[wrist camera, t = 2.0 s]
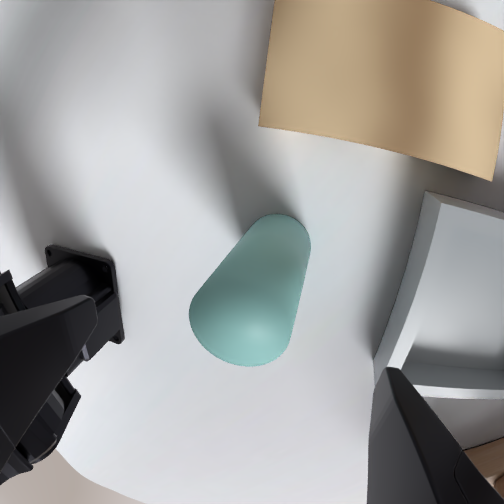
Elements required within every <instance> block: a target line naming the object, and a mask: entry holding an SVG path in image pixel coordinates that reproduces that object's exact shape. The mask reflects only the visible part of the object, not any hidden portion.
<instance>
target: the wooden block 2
mask: <svg viewBox="0 0 504 504" xmlns="http://www.w3.org/2000/svg"><path fill="white" fill-rule="evenodd" d="M464 452H465V453H466V455H467V456H468V457H469V459H470V460H471V461H472V462H473V464H474V465H475V466H476V468H477V469H478V470H479V471H480V473H481V474H482V475H483V476H484V477H485V478H486V480H487V481H488V482H489V483H490V484H491V485H492V486H493V488H494V489H495V490H496V491H497V492H498V493H499V494H500V495H501V496H502V497H503V499H504V438H502V439H499V440H496V441H493V442H490V443H487V444H484V445H481V446H478V447H475V448H472V449H469V450H465V451H464Z"/></svg>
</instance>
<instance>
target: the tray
mask: <svg viewBox="0 0 504 504" xmlns="http://www.w3.org/2000/svg"><path fill="white" fill-rule="evenodd" d="M373 367H374V381H375V386H376V384H377V382H378V380H379V377H380V375H381V373H382V371H383V369H384V368H385V367H395V368H399V369H400V370H401V371H402V372H403V374H404V375H405V376H406V377H407V379H408V380H409V381H410V382H411V384H412V385H413V386H414V387H415V389H416V390H417V391H418V392H419V394H420V395H421V396H425V397H439V398H458V399H504V212H501V211H498V210H495V209H491V208H488V207H485V206H481V205H478V204H474V203H471V202H467V201H463V200H460V199H456V198H452V197H449V196H445V195H441V194H437V193H433V192H429V191H425V194H424V198H423V203H422V208H421V212H420V216H419V221H418V225H417V229H416V233H415V237H414V241H413V244H412V248H411V252H410V255H409V259H408V262H407V266H406V269H405V273H404V276H403V279H402V282H401V286H400V289H399V292H398V295H397V298H396V301H395V304H394V307H393V310H392V313H391V316H390V318H389V321H388V324H387V327H386V329H385V332H384V335H383V337H382V340H381V343H380V345H379V348H378V350H377V353H376V355H375V358H374V360H373Z"/></svg>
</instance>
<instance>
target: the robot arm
mask: <svg viewBox="0 0 504 504" xmlns="http://www.w3.org/2000/svg"><path fill="white" fill-rule="evenodd" d="M45 254H46V260H47V265H48V268H46V269H44V270H43V271H41V272H40V273H38V274H36V275H35V276H33V277H32V278H30V279H28V280H27V281H25V282H24V283H22V284H21V285H19V286H17V287H15V285H14V283H13V281H12V279H13V278H12V275H11V273H10V271H9V270H7V271H5V272H3V273H1V272H0V485H1V484H2V483H4V482H5V481H6V480H8V479H9V478H11V477H14V476H16V475H18V474H20V473H24V472H28V471H31V470H32V469H33V465H32V464H34V463H37V462H39V461H41V460H43V459H44V458H46V457H47V456H48V455H50V454H51V453H52V452H53V450H54V449H55V448H56V447H57V445H58V443H59V441H60V439H61V437H62V435H63V433H64V431H65V429H66V427H67V424H68V422H69V420H70V418H71V416H72V414H73V412H74V410H75V408H76V406H77V404H78V402H79V400H80V398H81V395H80V394H79V392H78V391H77V389H74V387H73V386H72V384H71V383H70V382H69V380H68V379H67V377H68V376H69V375H70V374H71V373H72V372H73V371H74V370H75V368H76V367H77V366H78V365H79V364H80V363H81V362H82V361H83V360H85V361H89V360H90V359H91V358H92V357H93V356H94V355H95V354H96V353H97V352H98V351H99V350H100V349H101V348H102V347H103V346H104V345H105V344H106V343H107V342H108V341H111V342H114V343H116V344H121V343H122V342H123V341H124V339H125V337H124V331H123V325H122V318H121V312H120V304H119V297H118V289H117V280H116V271H115V265H114V264H113V262H112V261H111V260H109V259H105V258H101V257H97V256H93V255H90V254H86V253H82V252H78V251H74V250H70V249H67V248H63V247H59V246H55V245H49V246H47V247H46V248H45ZM106 266H107V267H108V269H107V267H106ZM367 504H504V499H503V497H502V496H501V495H500V494H499V493H498V492H497V491H496V490H495V489H494V488H493V486H492V485H491V484H490V483H489V482H488V481H487V480H486V478H485V477H484V476H483V475H482V474H481V473H480V471H479V470H478V469H477V468H476V466H475V465H474V464H473V462H472V461H471V460H470V459H469V457H468V456H467V455H466V453H465V452H464V451H462V448H461V447H460V445H459V444H458V443H457V441H456V440H455V439H454V437H453V436H452V435H451V433H450V432H449V431H448V430H447V428H446V427H445V426H444V424H443V423H442V422H441V420H440V419H439V418H438V417H437V415H436V414H435V413H434V411H433V410H432V409H431V408H430V406H429V405H428V404H427V402H426V401H425V400H424V399H423V397H422V396H421V395H420V394H419V392H418V391H417V390H416V389H415V387H414V386H413V385H412V384H411V382H410V381H409V380H408V379H407V377H406V376H405V375H404V374H403V372H402V371H401V370H400V369H399V368H395V367H385V368H384V369H383V371H382V373H381V375H380V377H379V380H378V382H377V384H376V386H375V389H374V393H373V403H372V413H371V423H370V432H369V445H368V489H367Z"/></svg>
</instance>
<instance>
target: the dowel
mask: <svg viewBox="0 0 504 504" xmlns="http://www.w3.org/2000/svg"><path fill="white" fill-rule="evenodd" d="M310 250H311V243H310V238H309V235H308V233H307V231H306V229H305V228H304V227H303V225H302V224H301V223H299V222H298V221H297V220H296V219H294V218H292V217H290V216H287V215H283V214H270V215H266V216H264V217H262V218H260V219H258V220H257V221H256V222H255V223H254V224H253V225H252V226H251V228H250V229H249V230H248V231H247V232H246V234H245V235H244V236H243V237H242V238H241V240H240V241H239V242H238V243H237V244H236V246H235V247H234V248H233V249H232V250H231V252H230V253H229V254H228V255H227V257H226V258H225V259H224V260H223V261H222V263H221V264H220V265H219V266H218V267H217V269H216V270H215V271H214V272H213V274H212V275H211V276H210V277H209V278H208V280H207V281H206V282H205V283H204V285H203V286H202V287H201V288H200V289H199V291H198V292H197V293H196V294H195V296H194V298H193V299H192V302H191V304H190V309H189V320H190V325H191V328H192V330H193V332H194V334H195V336H196V338H197V339H198V341H199V342H200V343H201V344H202V346H203V347H204V348H205V349H206V350H208V351H209V352H210V353H211V354H213V355H214V356H216V357H217V358H219V359H221V360H223V361H226V362H228V363H231V364H234V365H239V366H260V365H264V364H267V363H269V362H271V361H273V360H275V359H277V358H278V357H279V356H280V355H281V354H282V353H283V352H284V351H285V349H286V348H287V346H288V344H289V341H290V337H291V333H292V329H293V325H294V321H295V317H296V313H297V308H298V304H299V300H300V296H301V291H302V287H303V283H304V278H305V274H306V269H307V265H308V260H309V255H310Z"/></svg>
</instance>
